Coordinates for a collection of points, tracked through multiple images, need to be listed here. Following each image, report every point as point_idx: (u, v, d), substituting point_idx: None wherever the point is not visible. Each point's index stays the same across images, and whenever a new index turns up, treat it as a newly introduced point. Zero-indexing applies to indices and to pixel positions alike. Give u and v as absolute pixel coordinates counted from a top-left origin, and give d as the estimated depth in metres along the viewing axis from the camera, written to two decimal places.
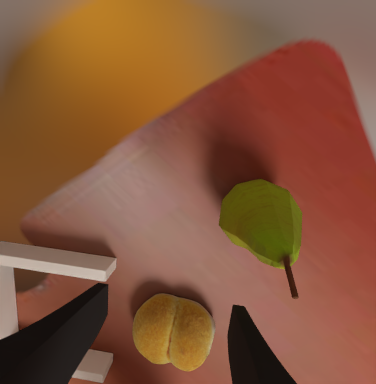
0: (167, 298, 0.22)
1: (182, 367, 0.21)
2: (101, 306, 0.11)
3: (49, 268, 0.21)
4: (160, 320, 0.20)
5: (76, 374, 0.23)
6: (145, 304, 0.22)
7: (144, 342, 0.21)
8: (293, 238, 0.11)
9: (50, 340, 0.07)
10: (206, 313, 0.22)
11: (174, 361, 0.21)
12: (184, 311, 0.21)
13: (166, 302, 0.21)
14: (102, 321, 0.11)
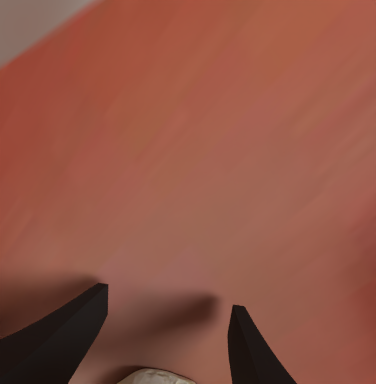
0: None
1: None
2: (101, 306, 0.11)
3: None
4: None
5: None
6: None
7: None
8: None
9: (50, 340, 0.07)
10: None
11: None
12: None
13: None
14: (102, 321, 0.11)
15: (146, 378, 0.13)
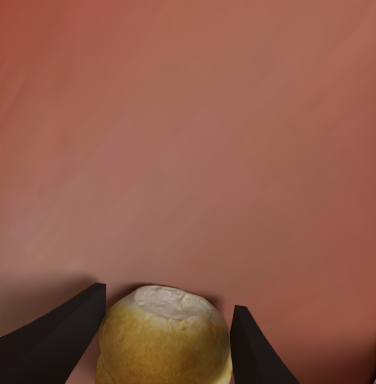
0: (97, 362, 0.13)
1: None
2: (99, 306, 0.11)
3: None
4: None
5: None
6: None
7: None
8: None
9: (47, 340, 0.07)
10: (111, 308, 0.12)
11: None
12: None
13: (96, 369, 0.12)
14: (100, 321, 0.11)
15: (150, 291, 0.12)
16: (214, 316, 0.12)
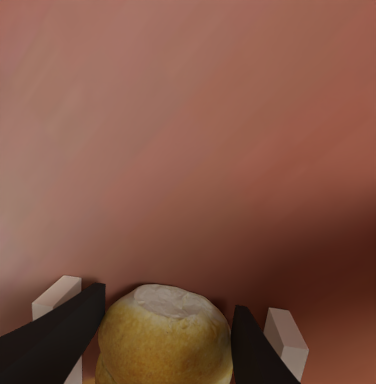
0: (97, 362, 0.13)
1: None
2: (98, 306, 0.11)
3: None
4: None
5: None
6: None
7: None
8: None
9: (46, 339, 0.07)
10: (111, 307, 0.12)
11: None
12: None
13: (96, 369, 0.12)
14: (99, 321, 0.11)
15: (150, 290, 0.12)
16: (215, 314, 0.11)
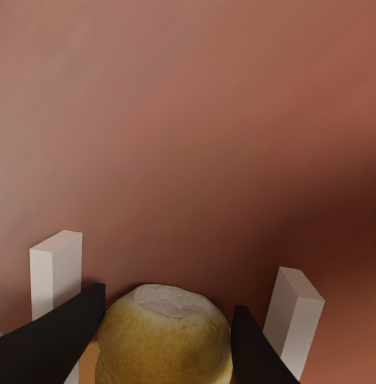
0: (97, 361, 0.13)
1: None
2: (98, 306, 0.11)
3: None
4: None
5: (296, 354, 0.10)
6: None
7: None
8: None
9: (46, 339, 0.07)
10: (111, 306, 0.12)
11: None
12: None
13: (96, 368, 0.12)
14: (99, 321, 0.11)
15: (150, 290, 0.12)
16: (215, 314, 0.11)
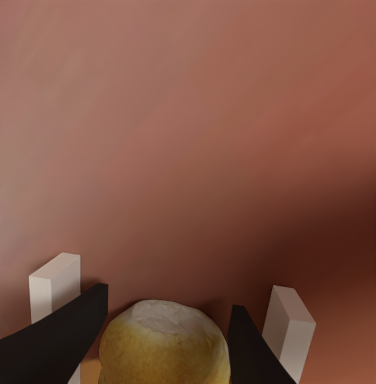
0: None
1: None
2: (101, 306, 0.11)
3: None
4: None
5: (290, 374, 0.10)
6: None
7: None
8: None
9: (50, 340, 0.07)
10: (110, 323, 0.12)
11: None
12: None
13: (98, 382, 0.13)
14: (102, 321, 0.11)
15: (148, 306, 0.12)
16: (210, 328, 0.12)
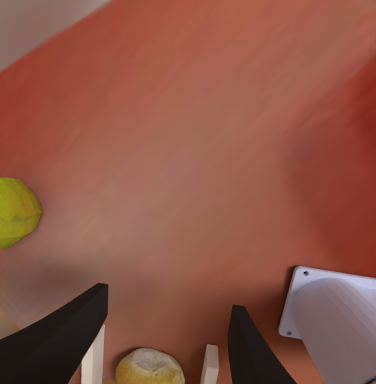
0: None
1: None
2: (101, 306, 0.11)
3: None
4: None
5: None
6: None
7: None
8: None
9: (50, 340, 0.07)
10: (121, 362, 0.23)
11: None
12: None
13: None
14: (102, 321, 0.11)
15: (141, 353, 0.23)
16: (173, 365, 0.23)
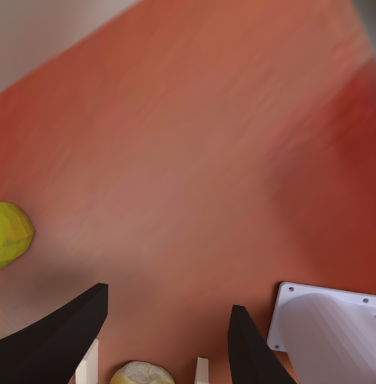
0: None
1: None
2: (101, 306, 0.11)
3: None
4: None
5: None
6: None
7: None
8: None
9: (50, 340, 0.07)
10: (114, 376, 0.24)
11: None
12: None
13: None
14: (102, 321, 0.11)
15: (133, 366, 0.24)
16: (165, 378, 0.23)
